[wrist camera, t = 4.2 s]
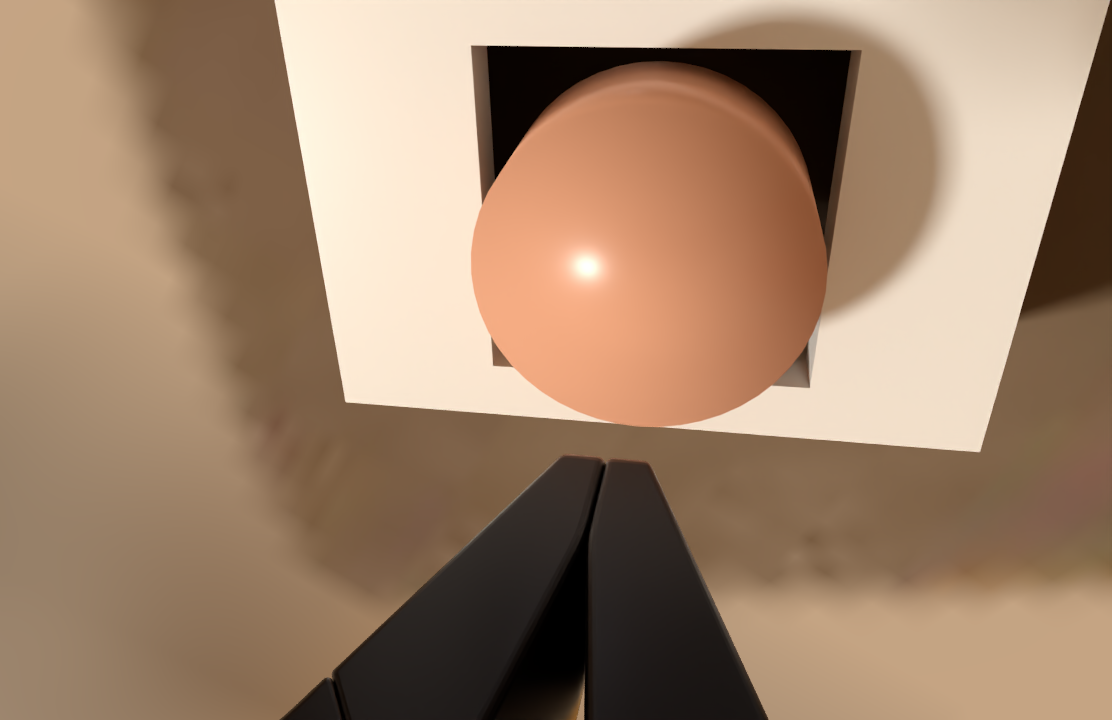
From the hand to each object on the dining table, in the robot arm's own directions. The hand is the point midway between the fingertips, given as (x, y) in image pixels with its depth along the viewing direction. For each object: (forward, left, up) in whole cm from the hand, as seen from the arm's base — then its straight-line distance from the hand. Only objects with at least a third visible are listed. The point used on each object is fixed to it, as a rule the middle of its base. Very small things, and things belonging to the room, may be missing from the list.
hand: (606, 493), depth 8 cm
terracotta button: (0, 0, -7) cm, 8 cm away
